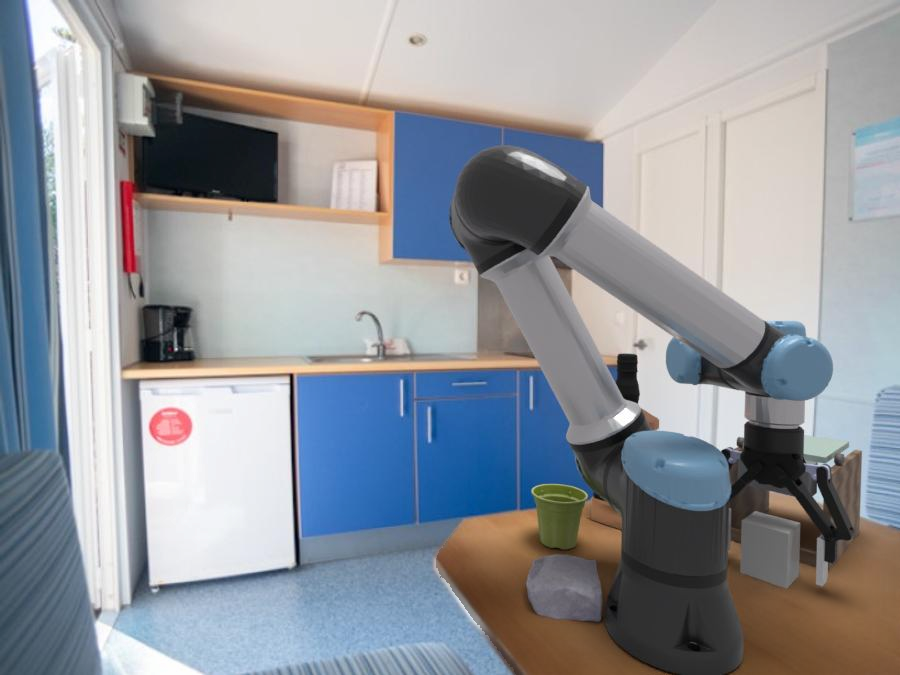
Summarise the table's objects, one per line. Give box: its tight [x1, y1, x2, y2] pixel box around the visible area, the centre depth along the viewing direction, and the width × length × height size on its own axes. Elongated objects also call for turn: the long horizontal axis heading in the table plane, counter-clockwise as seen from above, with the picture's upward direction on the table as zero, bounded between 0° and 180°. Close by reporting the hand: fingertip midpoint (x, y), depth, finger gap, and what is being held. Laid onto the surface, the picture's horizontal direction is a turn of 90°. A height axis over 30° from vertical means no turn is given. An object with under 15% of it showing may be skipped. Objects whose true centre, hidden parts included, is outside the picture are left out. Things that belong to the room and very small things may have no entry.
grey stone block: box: [739, 511, 801, 590], centre depth 74 cm, size 6×6×8 cm
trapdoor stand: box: [729, 436, 863, 572], centre depth 88 cm, size 22×15×17 cm
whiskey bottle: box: [588, 352, 660, 531], centre depth 94 cm, size 10×10×32 cm
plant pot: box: [531, 483, 589, 551], centre depth 84 cm, size 9×9×9 cm
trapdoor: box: [738, 434, 850, 498], centre depth 87 cm, size 22×12×6 cm, turn 131°
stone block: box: [525, 553, 603, 623], centre depth 67 cm, size 12×5×10 cm
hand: (770, 565), depth 74 cm, fingers open, 12 cm apart
